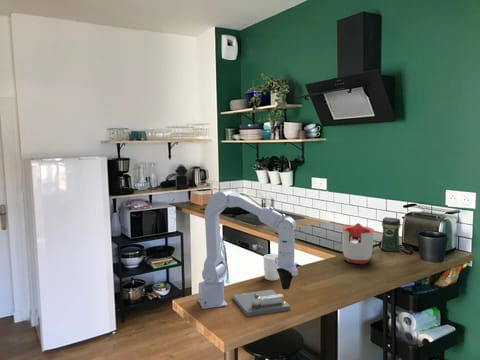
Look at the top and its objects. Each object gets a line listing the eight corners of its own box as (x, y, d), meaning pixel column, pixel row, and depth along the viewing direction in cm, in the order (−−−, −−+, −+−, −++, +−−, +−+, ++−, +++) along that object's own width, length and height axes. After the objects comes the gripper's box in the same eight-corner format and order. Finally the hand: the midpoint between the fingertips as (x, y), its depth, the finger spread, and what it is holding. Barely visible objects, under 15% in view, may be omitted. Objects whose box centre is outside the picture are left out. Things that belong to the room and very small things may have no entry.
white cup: (259, 277, 177) (260, 256, 176) (271, 273, 183) (271, 252, 182) (273, 282, 172) (273, 260, 171) (284, 278, 177) (284, 256, 176)
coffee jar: (400, 249, 223) (402, 217, 221) (397, 253, 217) (398, 220, 215) (383, 246, 229) (384, 215, 227) (379, 250, 222) (380, 218, 220)
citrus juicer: (337, 263, 198) (338, 225, 196) (345, 254, 213) (346, 218, 211) (369, 268, 190) (370, 228, 188) (375, 259, 206) (376, 221, 204)
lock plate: (247, 316, 139) (247, 300, 138) (232, 298, 154) (232, 283, 154) (290, 309, 145) (290, 293, 144) (272, 293, 160) (272, 278, 159)
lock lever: (253, 308, 141) (253, 299, 141) (250, 304, 145) (250, 296, 144) (284, 303, 145) (284, 295, 145) (280, 300, 149) (280, 292, 148)
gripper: (306, 256, 133) (305, 294, 134) (287, 245, 146) (286, 280, 148) (287, 258, 130) (286, 297, 132) (270, 246, 144) (269, 282, 145)
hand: (285, 288), depth 140 cm, fingers closed
